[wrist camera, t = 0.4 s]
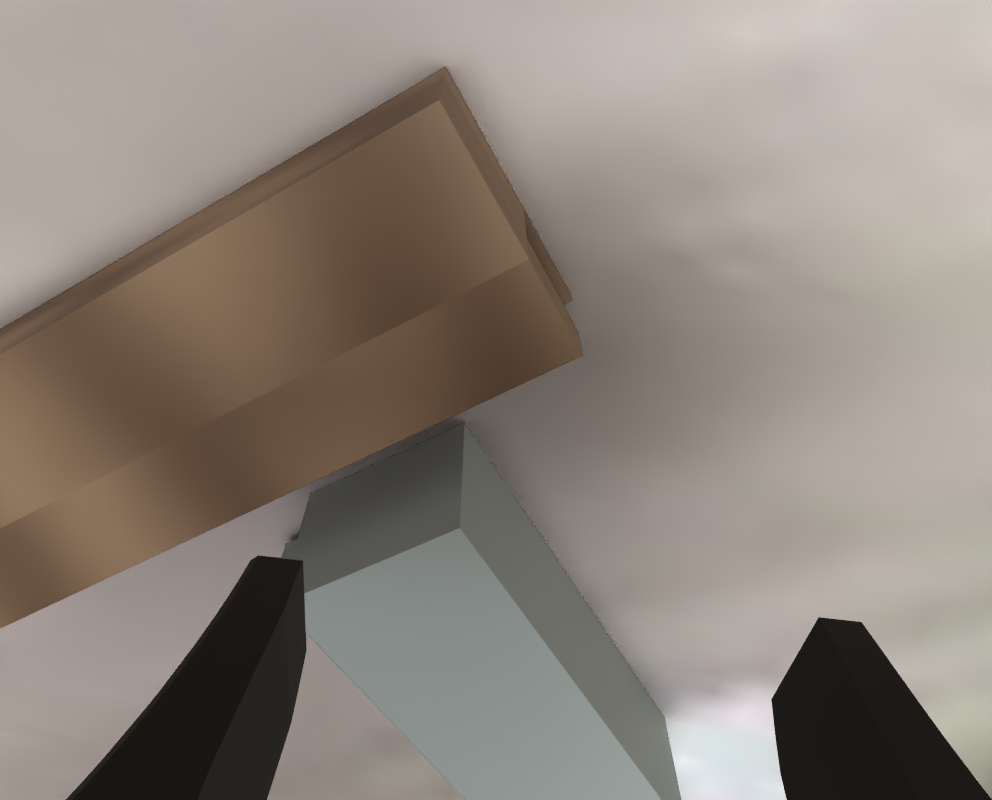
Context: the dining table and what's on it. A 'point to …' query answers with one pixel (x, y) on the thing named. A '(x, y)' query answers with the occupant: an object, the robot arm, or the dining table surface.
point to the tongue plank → (475, 633)
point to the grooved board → (270, 345)
